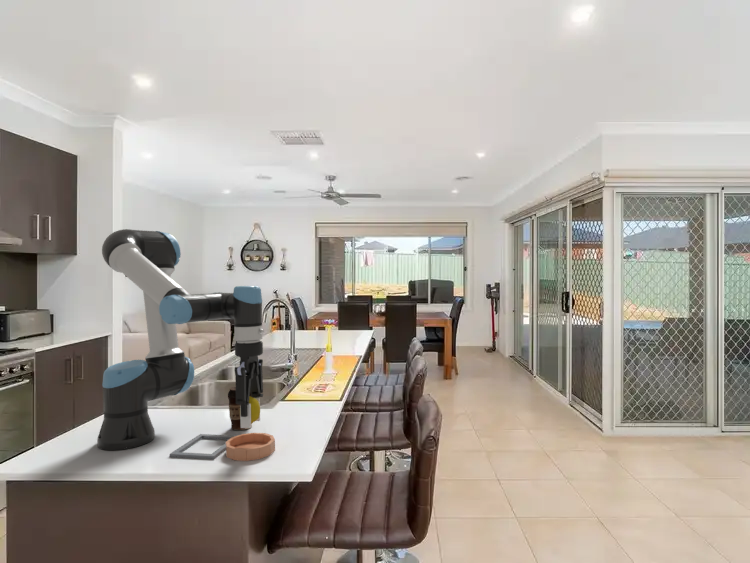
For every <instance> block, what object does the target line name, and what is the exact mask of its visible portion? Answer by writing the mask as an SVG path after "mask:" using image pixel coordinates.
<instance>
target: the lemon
mask: <svg viewBox="0 0 750 563" xmlns="http://www.w3.org/2000/svg"><path fill="white" fill-rule="evenodd" d="M249 404H251V425H253V423H255V422H257V421H256V420H257V419H258V418H259V415H260V416H261V404H260V405H259V402H258V401H257V400H256V399H255V398H253V397H251V396H249Z"/></svg>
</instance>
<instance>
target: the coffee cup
mask: <svg viewBox="0 0 750 563" xmlns="http://www.w3.org/2000/svg"><path fill="white" fill-rule="evenodd" d="M250 396H251V391H250ZM227 398H228V412H229V418H230V422H231V425H230V427H231V430H235V431H240V430H241V431H242V430H248V429H250V428H241V423H240V405H238V404H236V386H233V387H230V388H229V390H228V392H227ZM252 427H253V424H251V428H252Z"/></svg>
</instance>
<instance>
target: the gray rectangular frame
mask: <svg viewBox="0 0 750 563" xmlns="http://www.w3.org/2000/svg"><path fill="white" fill-rule="evenodd" d="M235 436H236V435H232V434H229V435H228V434H209V433H207V434H206V433H200V434H198V435H196V436H195V437H194V438H192V439H190V440H188V441H187V442H185V443H184V444H183V445H181V446H180V447H178V448H176V449H175V450H173V451H172V452H170V453H169V458H181V457H183V459H185V458H186V459H202V460H204V459H205V460H215V459H216V458H218V457H219V456H220V455H222V453H224V452H226V442H225V443H223V445H221V446H220V447H219V448H218V449H216V450H214V451H213V452H211V453H201V452H185V451H186V450H187V449H189V448H190V447H191V446H193V445H195V444H196V443H198V442H199V441H201V440H203V439H205V440H206V439H207V440H222V441H223V440H225V441H226V440H227V441H228V440H229V439H230V438H232V437H235Z"/></svg>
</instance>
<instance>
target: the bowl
mask: <svg viewBox="0 0 750 563" xmlns="http://www.w3.org/2000/svg"><path fill="white" fill-rule="evenodd" d="M234 436H235V437H232V438H230V439H229V440H227V441H226V440H225V443H226V450H225V455H226V458H228V459H231V460H233V461H240V462H241V461H242V462H248V461H255V460H260V459H264V458H266V457H268V456H271V455H272V454H273V453H274V452H275V451H276V439H275V437H274V435H272V434H269V433H266V432H250V433H241V434H238V435H234Z"/></svg>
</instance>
